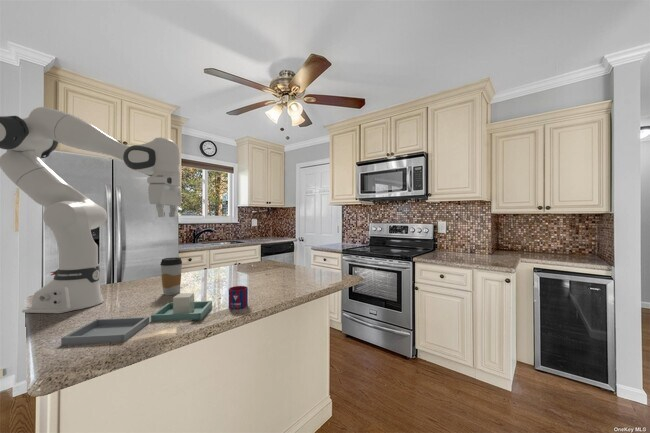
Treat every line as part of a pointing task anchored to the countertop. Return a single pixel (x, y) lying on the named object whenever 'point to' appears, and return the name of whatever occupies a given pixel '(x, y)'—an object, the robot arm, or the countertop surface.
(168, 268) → the coffee cup
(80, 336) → the bin
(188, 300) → the stone block
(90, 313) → the countertop surface
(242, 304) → the cup
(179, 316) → the bin
